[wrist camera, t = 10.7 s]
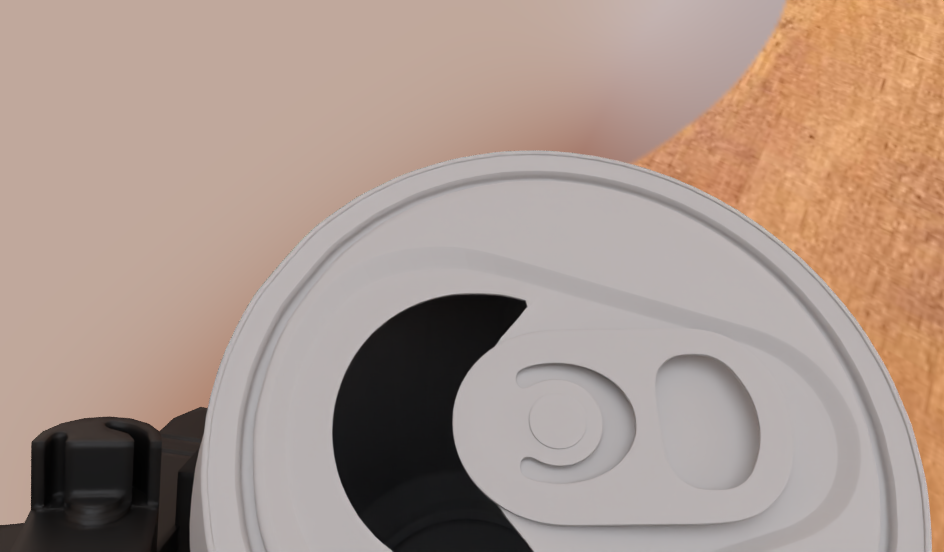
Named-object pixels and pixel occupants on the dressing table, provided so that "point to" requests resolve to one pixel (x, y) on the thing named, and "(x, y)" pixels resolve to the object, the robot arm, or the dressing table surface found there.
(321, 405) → the beverage can
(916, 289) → the dressing table surface
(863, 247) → the dressing table surface
